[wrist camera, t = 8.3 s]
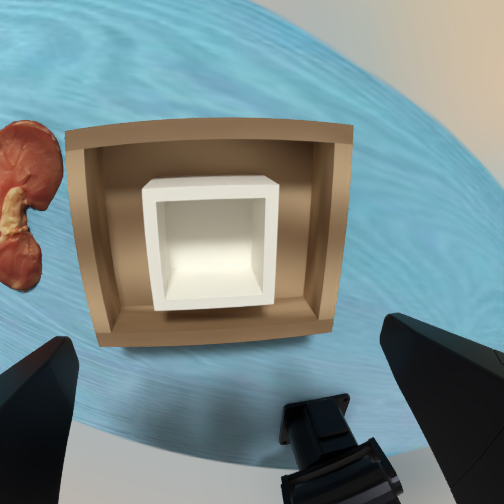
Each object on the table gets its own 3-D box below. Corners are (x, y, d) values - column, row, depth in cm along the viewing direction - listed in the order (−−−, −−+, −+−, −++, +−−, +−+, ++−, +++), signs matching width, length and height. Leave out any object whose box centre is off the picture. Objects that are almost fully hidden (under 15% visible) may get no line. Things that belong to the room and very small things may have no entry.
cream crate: (259, 271, 20) (273, 304, 16) (161, 276, 19) (154, 310, 15) (261, 173, 17) (279, 184, 14) (154, 177, 16) (141, 189, 13)
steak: (72, 136, 14) (34, 309, 18) (82, 135, 16) (43, 297, 19) (-19, 106, 12) (-43, 268, 15) (-5, 106, 14) (-32, 259, 17)
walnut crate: (310, 300, 22) (331, 331, 18) (112, 311, 20) (99, 346, 16) (323, 125, 18) (353, 125, 14) (91, 130, 16) (64, 131, 12)
